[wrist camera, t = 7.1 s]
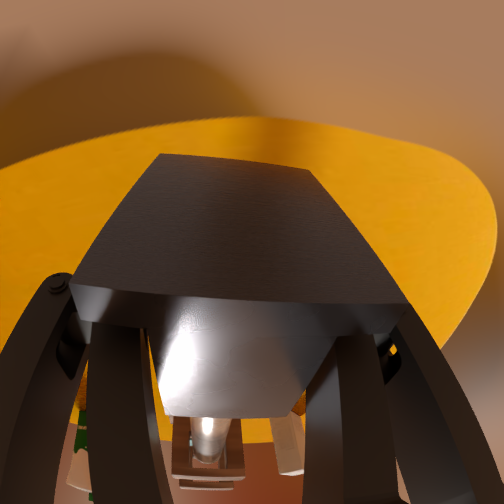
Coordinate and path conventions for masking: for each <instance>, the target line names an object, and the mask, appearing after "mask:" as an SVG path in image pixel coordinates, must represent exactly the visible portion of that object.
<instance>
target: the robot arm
mask: <svg viewBox="0 0 504 504" xmlns="http://www.w3.org/2000/svg"><path fill="white" fill-rule="evenodd" d="M72 276H73V275H72V274H69V273H56V274H53V275H51V276H49V277H47V278H46V279H45V280H44V281H43V282H42V284H41V285H40V287H39V288H38V290H37V291H36V293H35V294H34V296H33V297H32V299H31V300H30V302H29V304H28V305H27V307H26V309H25V310H24V312H23V313H22V315H21V317H20V319H19V320H18V322H17V324H16V325H15V327H14V329H13V331H12V333H11V334H10V336H9V338H8V340H7V342H6V344H5V346H4V348H3V350H2V352H1V354H0V504H53V503H54V495H55V488H56V481H57V475H58V469H59V464H60V458H61V453H62V449H63V444H64V440H65V436H66V431H67V427H68V423H69V419H70V416H71V412H72V408H73V405H74V401H75V398H76V395H77V391H78V388H79V385H80V382H81V379H82V376H83V373H84V370H85V367H86V364H87V361H88V371H87V393H86V429H87V450H88V463H89V473H90V482H91V489H92V496H93V502H94V504H174V503H173V499H172V495H171V492H170V487H169V484H168V479H167V475H166V470H165V465H164V460H163V455H162V450H161V444H160V438H159V432H158V426H157V420H156V413H155V405H154V397H153V389H152V380H151V369H150V358H149V343H148V332H147V329H141V328H133V327H125V326H118V325H111V324H104V323H98V322H92V321H86V320H81V319H80V316H79V314H78V311H77V308H76V305H75V302H74V299H73V296H72V293H71V290H70V287H69V281H70V279H71V278H72ZM393 344H394V345H395V347H396V349H397V351H396V353H395V354H394V355H393V354H392V353H391V351H390V348H391V347H392V346H393ZM395 457H396V458H395ZM396 459H397V462H398V465H399V468H400V471H401V474H402V477H403V480H404V483H405V486H406V490H407V493H408V496H409V499H410V502H411V504H504V484H503V482H502V480H501V477H500V474H499V472H498V469H497V466H496V463H495V461H494V458H493V455H492V453H491V450H490V448H489V445H488V443H487V441H486V438H485V436H484V433H483V431H482V429H481V427H480V425H479V422H478V420H477V418H476V416H475V414H474V412H473V410H472V408H471V406H470V403H469V402H468V400H467V398H466V396H465V394H464V392H463V390H462V388H461V386H460V384H459V382H458V380H457V379H456V377H455V375H454V373H453V371H452V370H451V368H450V366H449V364H448V363H447V361H446V359H445V358H444V356H443V354H442V352H441V351H440V349H439V347H438V346H437V344H436V342H435V341H434V339H433V337H432V336H431V334H430V333H429V331H428V329H427V328H426V326H425V325H424V323H423V322H422V320H421V319H420V317H419V316H418V314H417V313H416V311H415V310H414V308H413V307H412V305H411V304H410V303H409V305H408V306H407V308H406V309H405V311H404V313H403V314H402V316H401V317H400V319H399V320H398V322H397V323H396V325H395V326H394V328H393V329H392V331H391V332H390V333H384V334H370V335H353V336H337V338H336V340H335V342H334V343H333V345H332V347H331V349H330V350H329V352H328V354H327V355H326V357H325V359H324V360H323V362H322V364H321V365H320V367H319V369H318V370H317V372H316V373H315V375H314V377H313V378H312V380H311V381H310V383H309V384H308V386H307V387H306V426H305V459H304V480H303V496H302V504H408V503H407V502H405V501H403V500H402V499H401V498H400V496H399V492H398V481H397V469H396Z"/></svg>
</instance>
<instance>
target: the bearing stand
mask: <svg viewBox="0 0 504 504" xmlns="http://www.w3.org/2000/svg"><path fill="white" fill-rule="evenodd" d="M169 418H170V422H171V424H173V435H172V476H173V477H174V478H178V479H179V486H180V488H181V489H196V490H232V489H233V488H234V485H233V480H243V479H244V478H245V477H246V476H245V465H244V454H243V443H242V432H241V420H240V419H232V420H231V423H230V427H229V430H228V433H227V437H226V440H225V444H224V447H223V450H222V453H221V457H220V458H219V460H218V469H206V468H205V469H203V468H192V458H195V456H194V454H193V446H190V438H192V435H191V423H190V417H184V416H172V415H169ZM195 459H196V458H195ZM193 480H217V481H219V482H193Z"/></svg>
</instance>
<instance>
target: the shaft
mask: <svg viewBox="0 0 504 504" xmlns="http://www.w3.org/2000/svg"><path fill="white" fill-rule="evenodd" d="M69 287H70V290H71V293H72V296H73V299H74V302H75V305H76V308H77V311H78V314H79V316H80V319H81V320H86V321H92V322H98V323H104V324H111V325H118V326H125V327H133V328H141V329H147V332H148V337H149V343H150V348H151V354H152V359H153V364H154V368H155V373H156V378H157V382H158V386H159V391H160V395H161V399H162V403H163V407H164V410H165V414H166V415H172V416H184V417H190V423H191V435H192V446H193V454H194V456H195V458H196V459H197V460H198V461H200V462H202V463H205V464H211V463H214V462H216V461H218V460H219V458H220V457H221V453H222V450H223V447H224V444H225V440H226V437H227V433H228V430H229V427H230V423H231V420H232V419H246V418H275V417H287V415H288V414H289V413H290V411H291V410H292V408H293V407H294V405H295V404H296V402H297V401H298V400H299V398H300V397H301V395H302V394H303V392H304V391H305V389H306V387H307V386H308V384H309V383H310V381H311V380H312V378H313V377H314V375H315V373H316V372H317V370H318V369H319V367H320V365H321V364H322V362H323V360H324V359H325V357H326V355H327V354H328V352H329V350H330V349H331V347H332V345H333V343H334V342H335V340H336V338H337V336H353V335H370V334H384V333H390V332H391V331H392V329H393V328H394V326H395V325H396V323H397V322H398V320H399V319H400V317H401V316H402V314H403V313H404V311H405V309H406V308H407V306H408V305H409V302H408V300H407V299H406V297H405V295H404V294H403V292H402V291H401V289H400V288H399V286H398V285H397V283H396V282H395V280H394V279H393V278H392V276H391V275H390V273H389V272H388V270H387V269H386V267H385V266H384V265H383V263H382V262H381V260H380V259H379V258H378V256H377V255H376V253H375V252H374V251H373V249H372V248H371V247H370V245H369V244H368V243H367V241H366V240H365V239H364V237H363V236H362V235H361V233H360V232H359V231H358V229H357V228H356V227H355V225H354V224H353V223H352V222H351V220H350V219H349V218H348V217H347V215H346V214H345V213H344V212H343V210H342V209H341V208H340V207H339V205H338V204H337V203H336V202H335V200H334V199H333V198H332V197H331V196H330V194H329V193H328V192H327V191H326V190H325V188H324V187H323V186H322V185H321V184H320V183H319V181H318V180H317V179H316V178H315V177H314V176H313V175H312V173H311V172H310V171H309V170H305V169H300V168H293V167H287V166H281V165H274V164H267V163H259V162H252V161H244V160H235V159H226V158H216V157H205V156H192V155H178V154H159V155H158V156H157V157H156V159H155V160H154V161H153V162H152V163H151V165H150V166H149V167H148V168H147V169H146V171H145V172H144V173H143V174H142V176H141V177H140V178H139V179H138V181H137V182H136V183H135V184H134V186H133V187H132V188H131V190H130V191H129V192H128V194H127V195H126V196H125V197H124V199H123V200H122V202H121V203H120V204H119V206H118V207H117V208H116V210H115V211H114V212H113V214H112V215H111V217H110V218H109V220H108V221H107V222H106V224H105V225H104V227H103V228H102V230H101V231H100V233H99V234H98V236H97V237H96V239H95V240H94V242H93V243H92V245H91V246H90V248H89V250H88V251H87V253H86V254H85V256H84V258H83V259H82V261H81V263H80V264H79V266H78V267H77V269H76V271H75V273H74V274H73V276H72V278H71V279H70V281H69Z"/></svg>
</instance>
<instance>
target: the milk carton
mask: <svg viewBox="0 0 504 504" xmlns="http://www.w3.org/2000/svg"><path fill="white" fill-rule="evenodd" d="M66 484H69V485H71V486H74V487H75V488H78V489H80V490H83V491H86V492H90V493H89V501H93V496H92V489H91V482H90V473H89V463H88V450H87V429H86V411H79V418H78V427H77V433H76V439H75V445H74V450H73V457H72V463H71V468H70V471H69V474H68V477H67V480H66Z"/></svg>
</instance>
